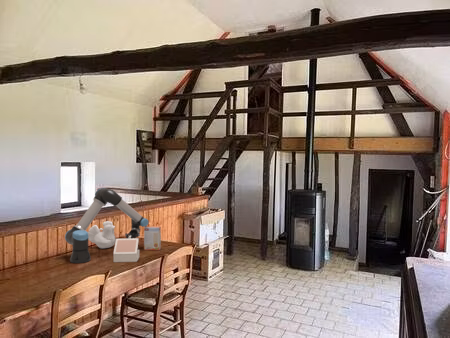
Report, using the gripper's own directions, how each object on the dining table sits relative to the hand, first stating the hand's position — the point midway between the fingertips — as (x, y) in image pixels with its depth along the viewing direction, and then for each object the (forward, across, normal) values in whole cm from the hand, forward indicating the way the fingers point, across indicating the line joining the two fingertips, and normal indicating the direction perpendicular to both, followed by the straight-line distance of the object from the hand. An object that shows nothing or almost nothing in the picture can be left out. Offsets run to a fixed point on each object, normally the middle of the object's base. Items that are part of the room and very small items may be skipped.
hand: (129, 238), depth 293 cm
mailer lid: (+13, 0, -3) cm, 13 cm away
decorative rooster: (-33, +31, -15) cm, 47 cm away
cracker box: (-21, -17, -15) cm, 31 cm away
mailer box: (+11, 0, -15) cm, 18 cm away
